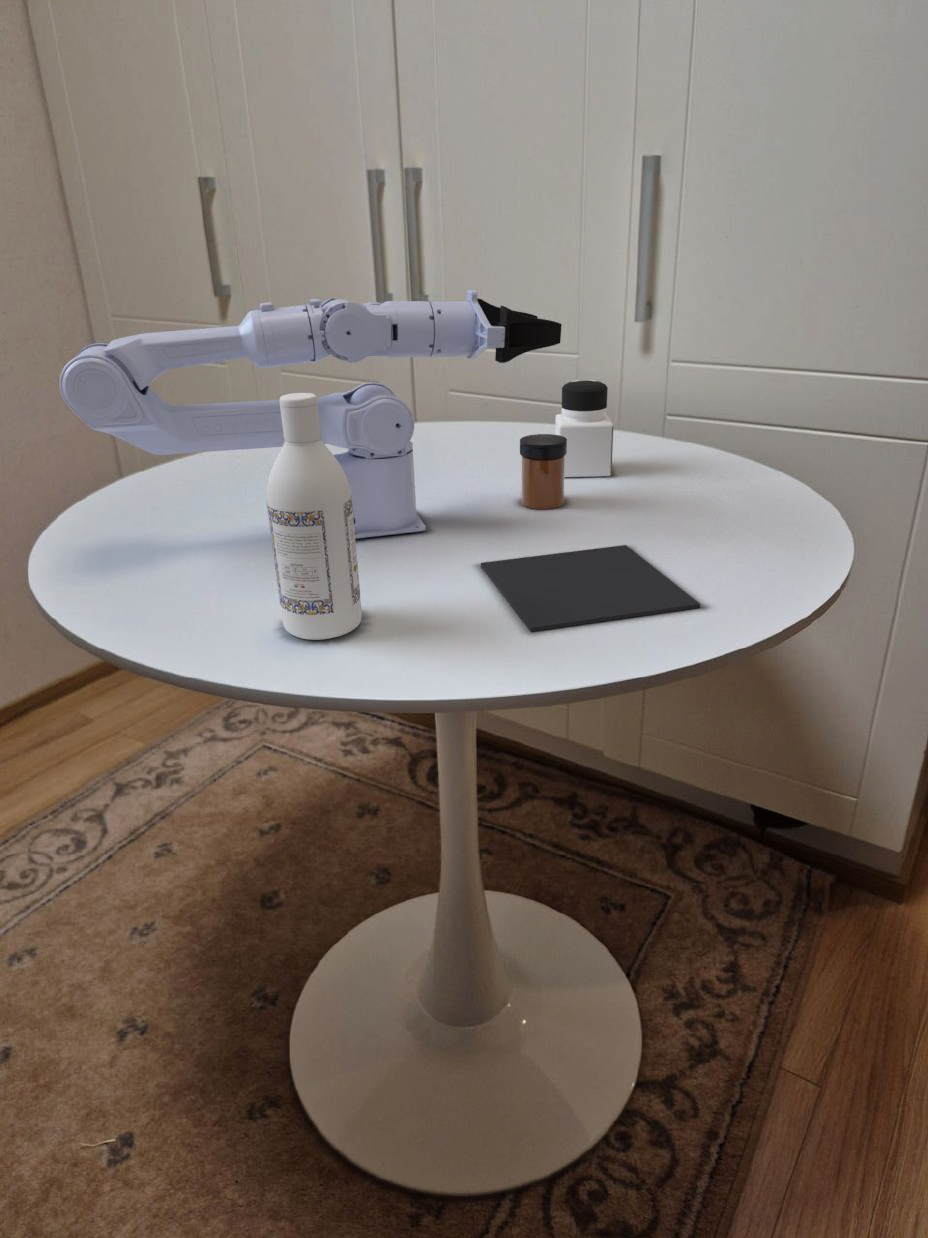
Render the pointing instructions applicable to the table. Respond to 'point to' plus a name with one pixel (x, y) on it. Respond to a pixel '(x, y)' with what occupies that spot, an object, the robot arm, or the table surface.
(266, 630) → the table surface
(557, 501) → the jar
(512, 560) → the mat
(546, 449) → the jar lid
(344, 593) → the bath foam
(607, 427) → the medicine bottle
